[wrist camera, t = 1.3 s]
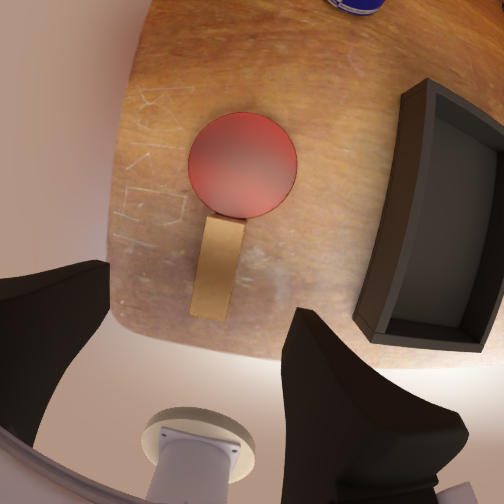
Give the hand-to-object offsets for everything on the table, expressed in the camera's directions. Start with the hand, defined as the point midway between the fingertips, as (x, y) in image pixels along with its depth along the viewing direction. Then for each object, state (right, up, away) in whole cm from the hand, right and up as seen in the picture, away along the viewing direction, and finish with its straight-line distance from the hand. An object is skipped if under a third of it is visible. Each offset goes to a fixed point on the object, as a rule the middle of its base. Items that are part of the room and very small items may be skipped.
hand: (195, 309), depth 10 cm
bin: (+17, +4, +9) cm, 20 cm away
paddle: (+1, +5, +9) cm, 10 cm away
